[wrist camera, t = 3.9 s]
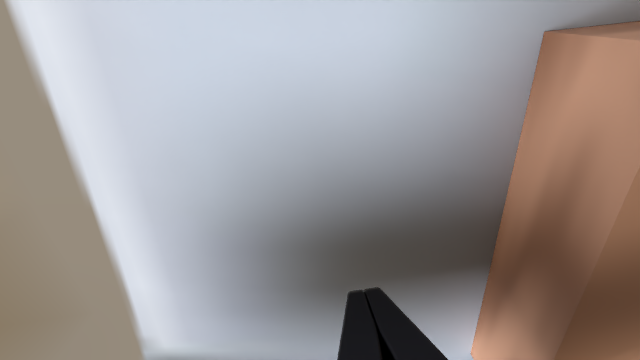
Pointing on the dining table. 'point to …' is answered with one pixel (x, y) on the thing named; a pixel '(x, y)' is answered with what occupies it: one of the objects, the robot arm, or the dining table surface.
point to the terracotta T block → (572, 209)
